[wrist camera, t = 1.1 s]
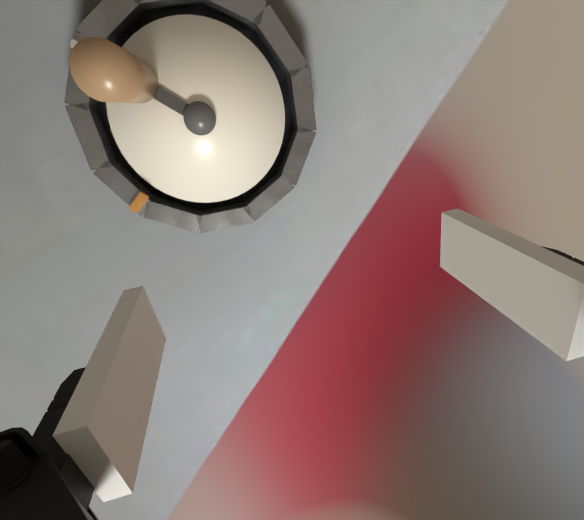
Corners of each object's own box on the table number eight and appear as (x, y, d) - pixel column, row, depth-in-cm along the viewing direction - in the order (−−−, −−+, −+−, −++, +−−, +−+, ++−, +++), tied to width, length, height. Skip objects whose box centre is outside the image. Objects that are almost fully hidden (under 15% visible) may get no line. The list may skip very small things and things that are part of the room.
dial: (313, 87, 30) (348, 80, 21) (237, 225, 34) (241, 265, 25) (152, -29, 25) (114, -99, 16) (84, 149, 29) (24, 168, 20)
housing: (23, 98, 28) (-4, 96, 24) (202, -89, 25) (199, -119, 22) (201, 260, 36) (199, 275, 33) (349, 133, 34) (363, 136, 30)
